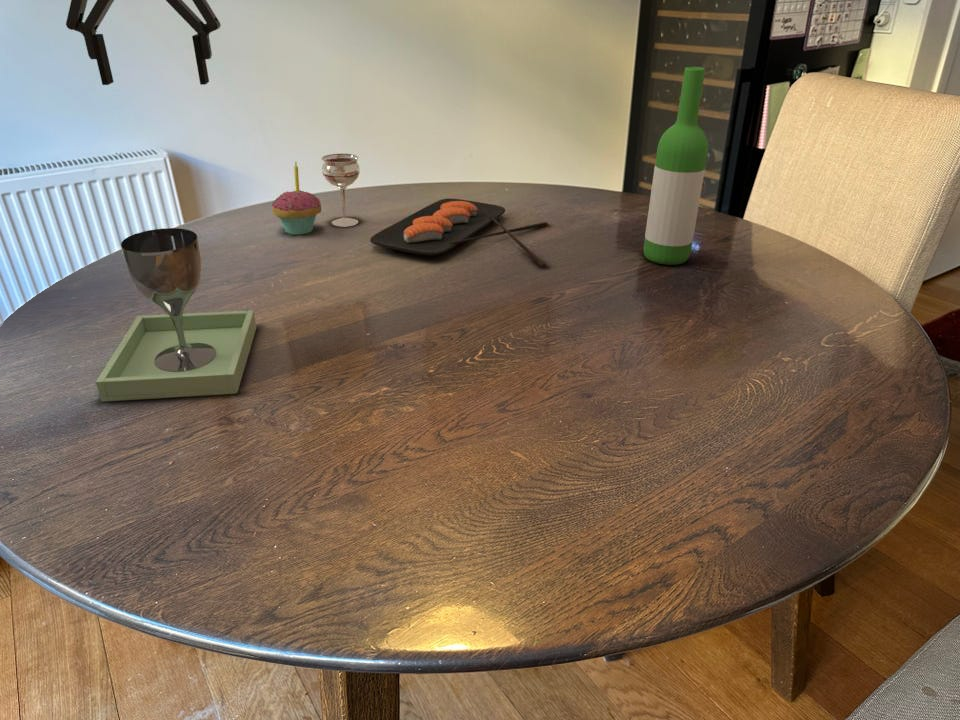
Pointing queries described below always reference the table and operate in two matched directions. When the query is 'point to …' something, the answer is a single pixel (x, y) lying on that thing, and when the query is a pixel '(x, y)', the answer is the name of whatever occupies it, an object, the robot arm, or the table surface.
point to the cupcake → (297, 209)
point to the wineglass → (341, 178)
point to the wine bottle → (678, 179)
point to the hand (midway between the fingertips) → (156, 83)
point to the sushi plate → (445, 228)
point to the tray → (152, 334)
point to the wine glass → (169, 286)
